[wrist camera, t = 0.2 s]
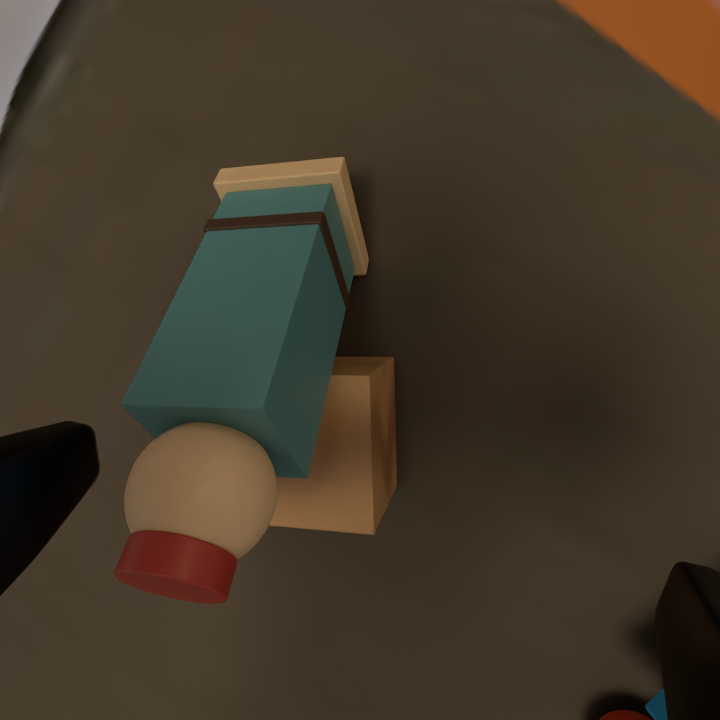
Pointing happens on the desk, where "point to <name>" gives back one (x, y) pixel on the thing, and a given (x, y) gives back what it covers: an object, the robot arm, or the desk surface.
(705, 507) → the desk surface
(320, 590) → the desk surface
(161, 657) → the desk surface
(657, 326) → the desk surface
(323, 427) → the pine block
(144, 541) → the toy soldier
